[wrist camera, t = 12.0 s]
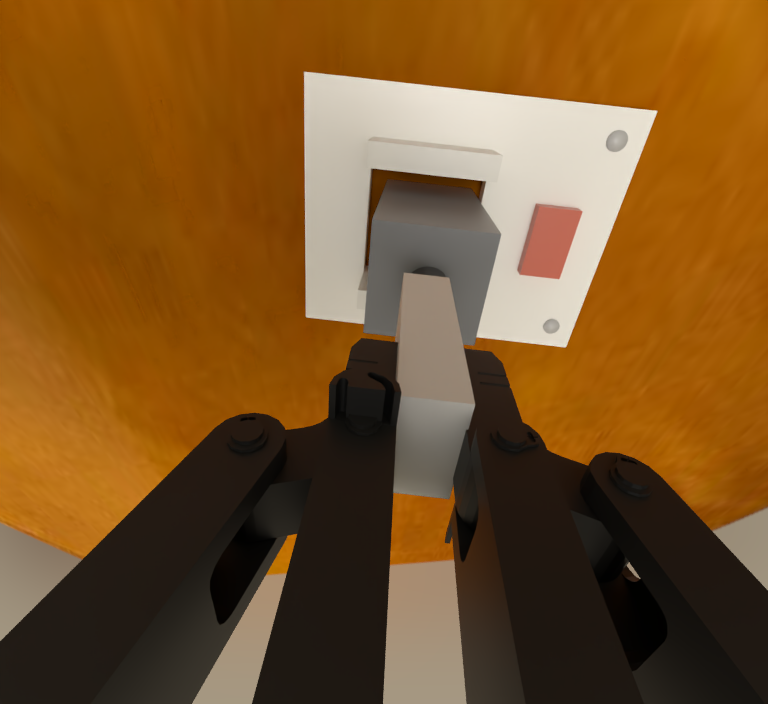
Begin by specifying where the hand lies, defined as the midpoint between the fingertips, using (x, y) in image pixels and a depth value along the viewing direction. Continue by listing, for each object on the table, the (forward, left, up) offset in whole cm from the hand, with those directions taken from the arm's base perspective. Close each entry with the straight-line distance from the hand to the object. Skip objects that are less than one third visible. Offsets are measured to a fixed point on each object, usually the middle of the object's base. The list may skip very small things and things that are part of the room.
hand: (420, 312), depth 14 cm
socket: (+2, 0, -13) cm, 13 cm away
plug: (0, 0, -13) cm, 13 cm away
